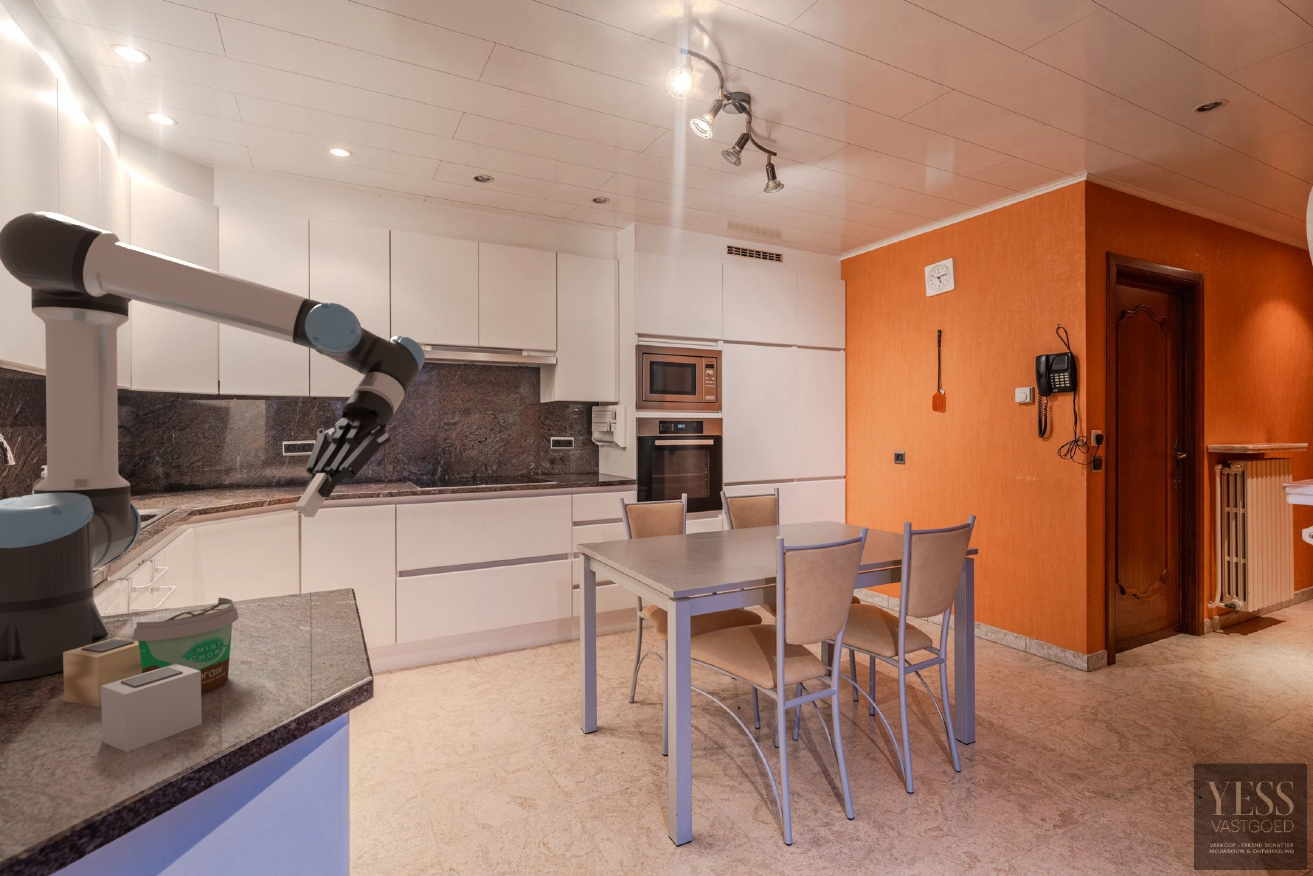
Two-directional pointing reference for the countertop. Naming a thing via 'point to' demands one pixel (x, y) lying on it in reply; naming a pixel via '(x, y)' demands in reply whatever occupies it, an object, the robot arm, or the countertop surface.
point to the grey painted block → (150, 706)
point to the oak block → (98, 668)
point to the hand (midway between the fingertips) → (304, 511)
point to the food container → (191, 642)
